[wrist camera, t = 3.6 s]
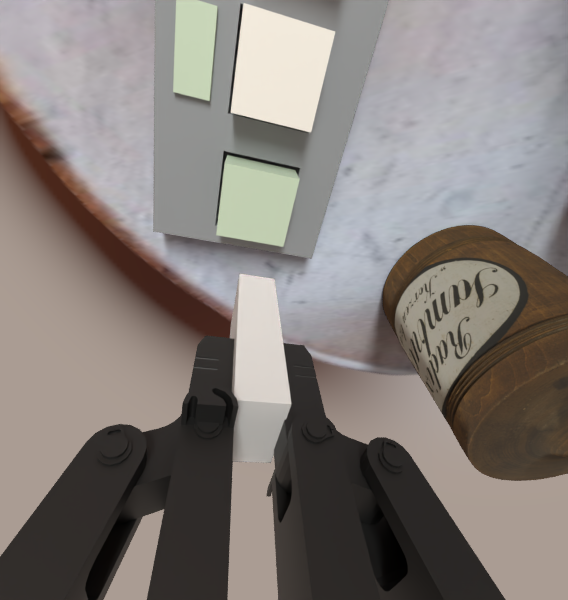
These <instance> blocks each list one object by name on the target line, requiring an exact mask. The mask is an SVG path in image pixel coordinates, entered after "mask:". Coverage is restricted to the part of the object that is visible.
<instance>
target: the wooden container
mask: <svg viewBox="0 0 568 600" xmlns="http://www.w3.org/2000/svg"><path fill="white" fill-rule="evenodd" d="M383 308H384V312H385V314H386V317H387V319H388V321H389V323H390V324H391V326H392V328H393V330H394V332H395V334H396V335H397V338H398V340H399V341H400V343H401V345H402V347H403V349H404V351H405V352H406V354H407V356H408V358H409V359H410V361H411V363H412V364H413V366H414V368H415V369H416V371H417V373H418V374H419V376H420V378H421V379H422V381H423V382H424V384H425V386H426V387H427V389H428V391H429V392H430V394H431V396H432V397H433V399H434V401H435V402H436V404H437V406H438V407H439V409H440V411H441V412H442V414H443V416H444V418H445V419H446V421H447V422H448V424H449V425H450V427H451V429H452V431H453V433H454V435H455V436H456V439H457V440H458V442H459V444H460V446H461V447H462V449H463V450H464V452H465V454H466V456H467V457H468V459H469V460H470V462H471V463H472V465H473V466H474V467H475V468H476V469H477V470H478V471H480V472H481V473H483V474H485V475H487V476H489V477H493V478H496V479H501V480H514V481H521V480H537V479H544V478H549V477H555V476H559V475H563V474H568V276H566V275H565V274H563V273H562V272H560V271H559V270H557V269H556V268H555V267H553V266H552V265H550V264H549V263H547V262H546V261H544V260H543V259H541V258H540V257H538V256H536V255H535V254H533V253H531V252H529V251H528V250H526V249H525V248H523V247H521V246H519V245H517V244H516V243H514V242H513V241H511V240H509V239H508V238H506V237H505V236H503V235H501V234H500V233H498V232H496V231H494V230H492V229H489V228H486V227H482V226H475V225H463V226H456V227H451V228H447V229H444V230H441V231H438V232H436V233H434V234H432V235H430V236H428V237H426V238H424V239H423V240H421V241H419V242H418V243H416V244H415V245H414V246H412V247H411V248H410V249H409V250H408V251H407V252H406V253H405V254H404V255H403V256H402V257H401V258H400V259H399V260H398V262H397V263H396V264H395V265H394V267H393V268H392V270H391V272H390V274H389V276H388V278H387V280H386V283H385V286H384V290H383Z"/></svg>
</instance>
